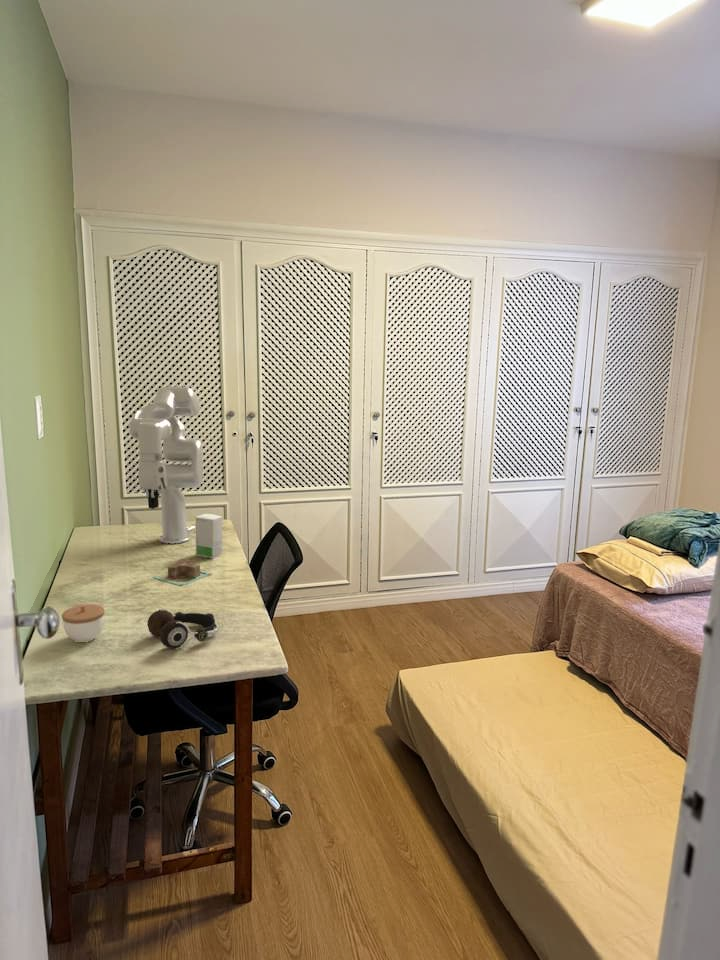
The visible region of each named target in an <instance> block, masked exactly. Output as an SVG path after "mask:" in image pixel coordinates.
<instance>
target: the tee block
mask: <svg viewBox="0 0 720 960" xmlns="http://www.w3.org/2000/svg"><path fill="white" fill-rule="evenodd" d="M200 571H201V565H200V564H196V563H191V559H186V558H185V559H184V558H183V559H181V560H177V562H175V563H173V564H170V565H169V566H167V578H168V579H173V580H176V578H177V579H178V578H180V577H182V576H185V577H184V578H189V577H191V578H190V579H196V577H197V578H198V576H199V577H201V573H200Z"/></svg>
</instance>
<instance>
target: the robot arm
mask: <svg viewBox="0 0 720 960" xmlns="http://www.w3.org/2000/svg"><path fill="white" fill-rule="evenodd" d="M200 411H201V402H200V399H199V397H198V395H197V394H196V392H195V391H194V390H193V388H191V387H189V386H164V387H161V388H159V389H158V391H157V392H156V394H155V396H154V399H153V400H152V403H150V404H148V405H146V406H143V407H141V408H139V409H138V410H136V411H135V412H134V413H133V416H132V418H131V419H130V423H129V429H128V430H129V434H130V436H131V437H132V438H133V439H135V440H138V449H139V451H138V452H139V454H138V455H139V462H138V484H139V486H140V488H141V490H142V491H144V492H145V494H146V498H147V501H148V503H147V504H148V509H151V510H153V509H158V508H159V503H160V505H161V506H160V508H161V525H162V526H161V528H162V535H160V536H159V537H158V541H159V542H160V543H162V542H163V544H168V543H170V544H169V545H171V544H175V543H176V544H181V543H182V542H183V543H186V542H188V541H190V540H191V535H190V534H189V533H191V532H193V531H196V526H194V525H193V526H189V527H188V526H187V516H186V515H187V514H186V513H187V511H186V510H187V509H186V497H185V495H184V493H183V492H182V490H181V489H183V488H184V489H185V488H186V489H191V488H192V489H194V488H195V489H196V488H198V487H199V488H200V486H201V485H202V482H203V470H204V469H203V467H204V466H203V463H204V448H203V447H204V446H203V443H202V442H201V441H200V440H199V439H196V438H195V439H194V438H186V428H185V426H184V424H183V422H181V420H180V419H179V418H177V417H196V416H198V414H199V413H200ZM162 441H163V442H162ZM162 443H163V445H162ZM163 459H164V460H165V461H167V462H169V464H165V462H164V461H163ZM170 462H171V464H170ZM173 463H174V464H173ZM175 463H179V464H175ZM181 463H184V464H181ZM185 463H190V464H185ZM159 497H160V502H159ZM183 543H182V544H183Z"/></svg>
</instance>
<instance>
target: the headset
mask: <svg viewBox="0 0 720 960" xmlns="http://www.w3.org/2000/svg"><path fill="white" fill-rule="evenodd" d="M187 624H194V625H198V626H202V627H204V628H202V627H200V628H197V629H196V630H195V632H194V631H193V632H192V631H191V630H190V628H189V626H188V625H187ZM146 625H147V628H148V632H149V633H150V635H152V636H154V637H157V638H158V637H159V639H160V642H161V643H162V645H163V646H164V647H167V648H170V649H171V648H172V650H173V649H174V650H179V648H180V649H182V648H184V647H185V646H186V645H187V644H188V643H189V642H190V641H191V640H197V641H199V642H204V641H206V640H207V638H210V637H214V636H216V633H217V632H218V627H219V626H218V623H216V619H215V616H214V615H213V614H212V613H206V614H205V613H199V612H198V613H197V612H191V613H190V612H188V613H183V612H182V611H177V612H176V613H174V614H173V613H171V612H170V611H168V610H167V609H166V608H161V609H159V610H156V611H154V612H153V613H152V614H151V615H149V618H148V620H147V624H146ZM189 633H190V634H191V635H194V637H191V638H189V639H188V635H189Z"/></svg>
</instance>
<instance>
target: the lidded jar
mask: <svg viewBox="0 0 720 960" xmlns="http://www.w3.org/2000/svg"><path fill="white" fill-rule="evenodd" d="M61 619H62V625H63V626H62V627H63V629H64V632H65V635H67V636H68V638H69V639H71V640H72V641H73V640H74V641H77V642H86V641H90V642H92V641H91V640H93V639H95V638H96V637H97V638H98V636H99V635H100V634H101V632H102V631H103V629H104V625H105V608H104V607H103V606H102V605H99V604H88V603H87V604H82V605H81V604H80V605H79V604H78V605H75V606H72V607H70V608H67V609H65V610H64V611H63V613H62V614H61ZM97 638H96V639H97ZM96 639H95V640H96ZM74 641H73V642H74ZM93 641H94V640H93ZM77 642H76V643H77ZM86 643H87V642H86Z"/></svg>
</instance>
